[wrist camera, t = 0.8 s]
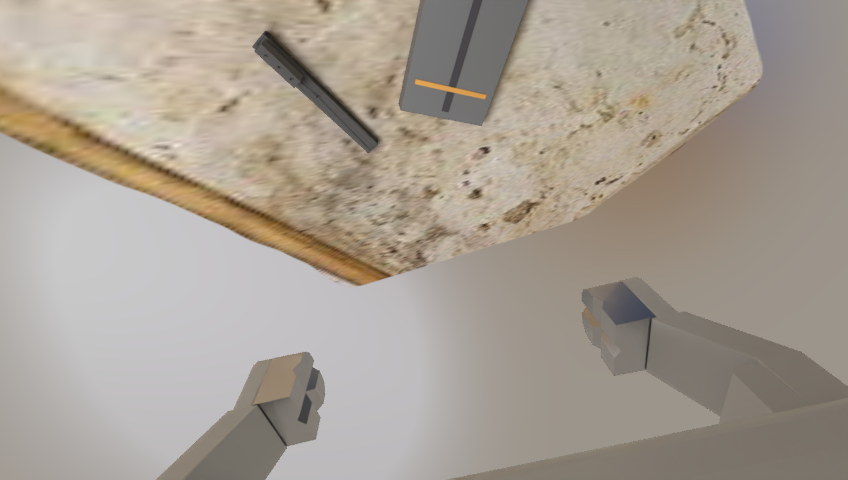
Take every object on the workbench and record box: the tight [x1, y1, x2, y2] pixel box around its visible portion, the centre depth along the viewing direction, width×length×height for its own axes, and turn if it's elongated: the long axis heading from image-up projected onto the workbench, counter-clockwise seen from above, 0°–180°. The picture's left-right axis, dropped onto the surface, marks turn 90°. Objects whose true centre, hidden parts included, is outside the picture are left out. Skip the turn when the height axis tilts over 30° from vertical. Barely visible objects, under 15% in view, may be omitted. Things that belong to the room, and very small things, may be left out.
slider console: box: [399, 0, 528, 126], centre depth 44 cm, size 22×12×3 cm, turn 165°
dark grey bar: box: [253, 31, 378, 153], centre depth 46 cm, size 19×3×4 cm, turn 39°
